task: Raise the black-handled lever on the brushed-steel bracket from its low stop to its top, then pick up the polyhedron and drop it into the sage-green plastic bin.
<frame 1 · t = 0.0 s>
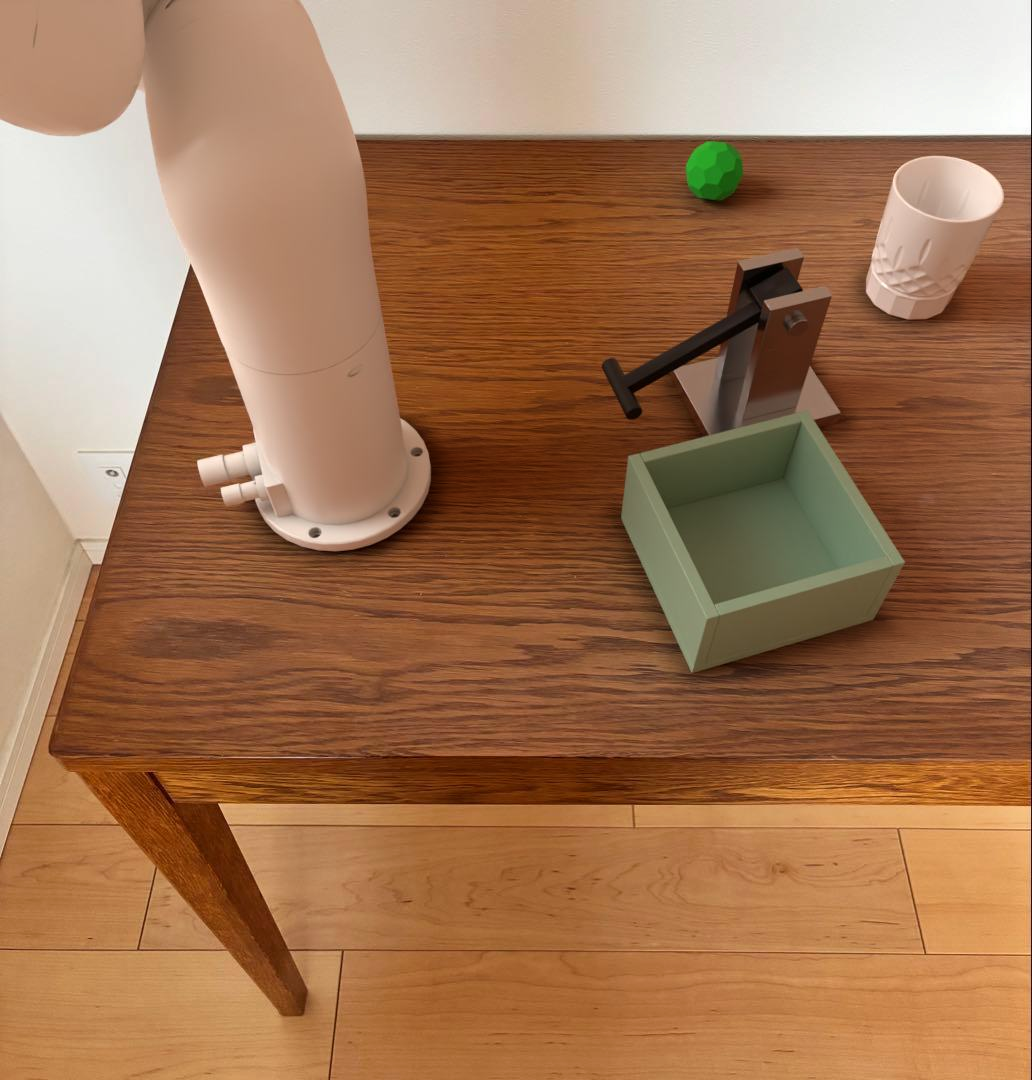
bracket: (752, 400, 74), on the table
lever: (704, 341, 67), point 8 cm above the table, hinge at -25.0°
white cup: (905, 294, 81), on the table
bin: (742, 567, 66), on the table
polyhedron: (710, 196, 89), on the table
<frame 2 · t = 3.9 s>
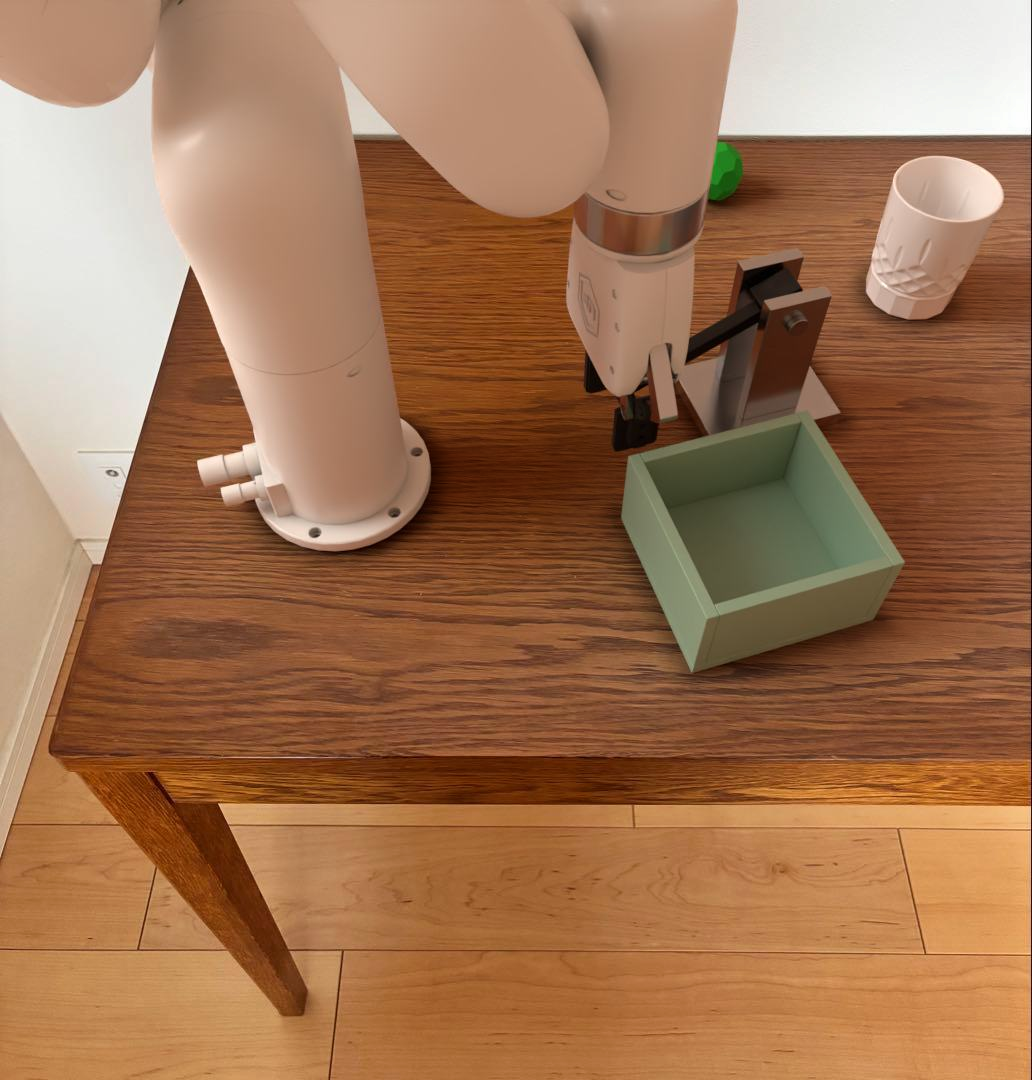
hand: (619, 413, 71), 2 cm above the table, tool pointing down, fingers closed on lever, 5 cm apart
lever: (704, 341, 67), point 8 cm above the table, hinge at -25.0°, touching gripper
everything else where it was.
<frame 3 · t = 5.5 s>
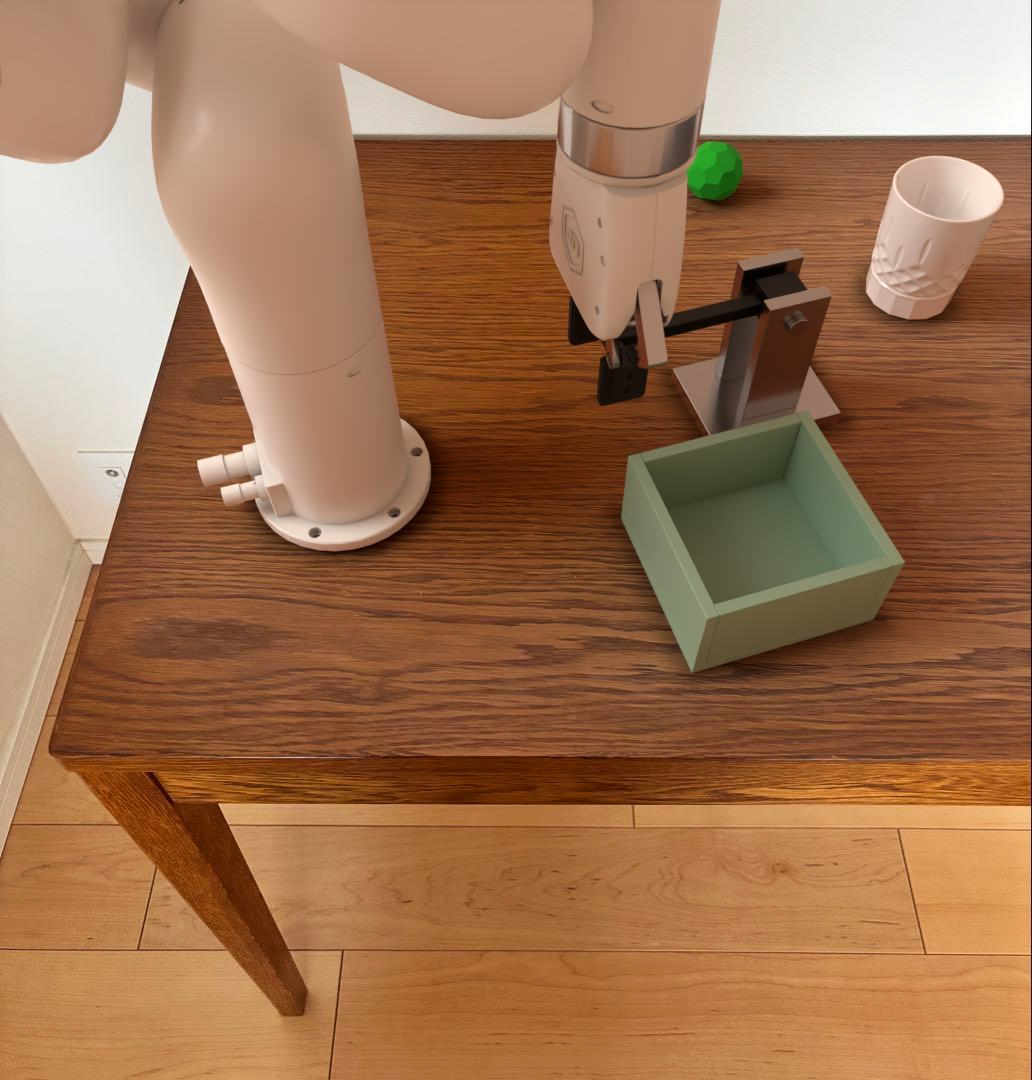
hand: (605, 366, 66), 8 cm above the table, tool pointing down, fingers closed on lever, 5 cm apart
lever: (701, 317, 65), point 10 cm above the table, hinge at -0.6°, touching gripper
everything else where it was.
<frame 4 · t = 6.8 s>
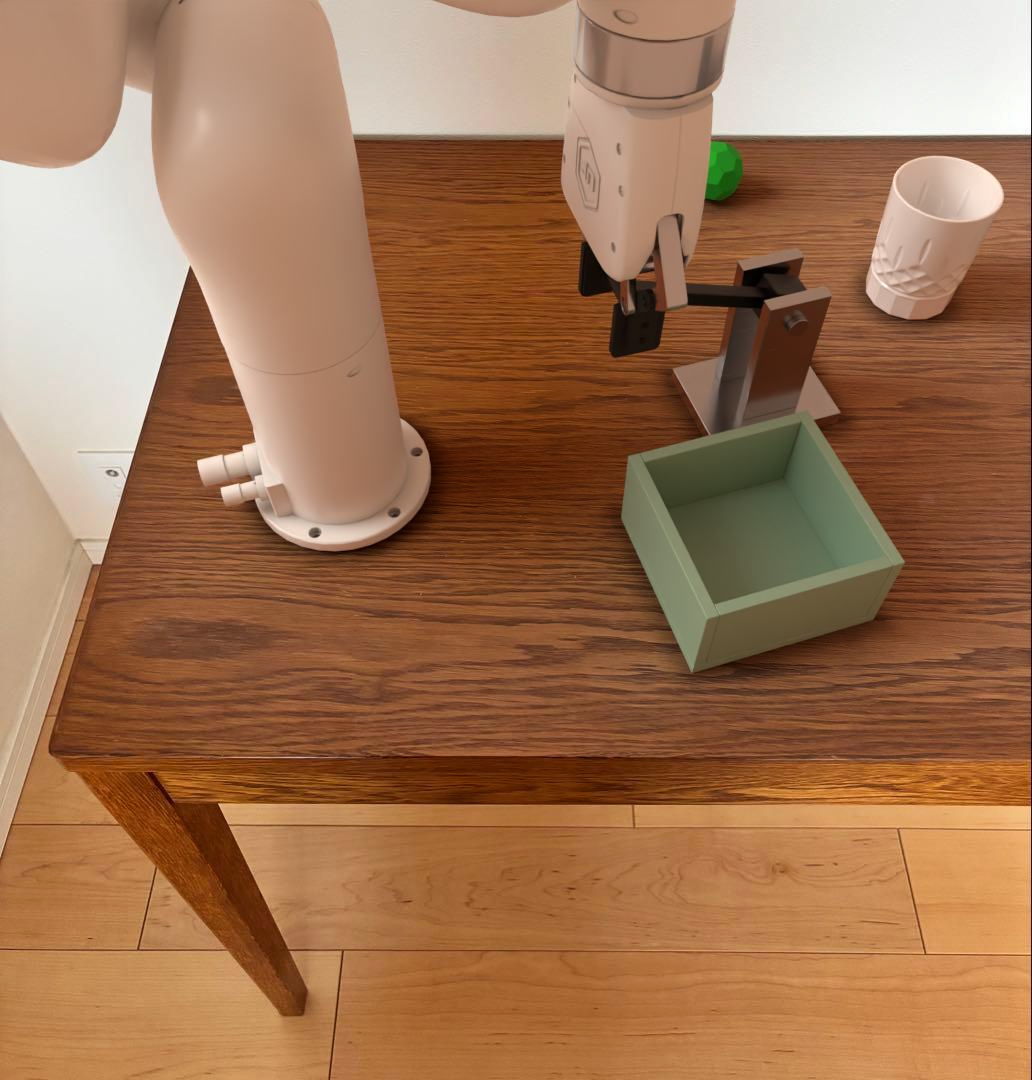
hand: (617, 317, 63), 12 cm above the table, tool pointing down, fingers closed on lever, 5 cm apart
lever: (709, 295, 64), point 12 cm above the table, hinge at 18.5°, touching gripper
everything else where it was.
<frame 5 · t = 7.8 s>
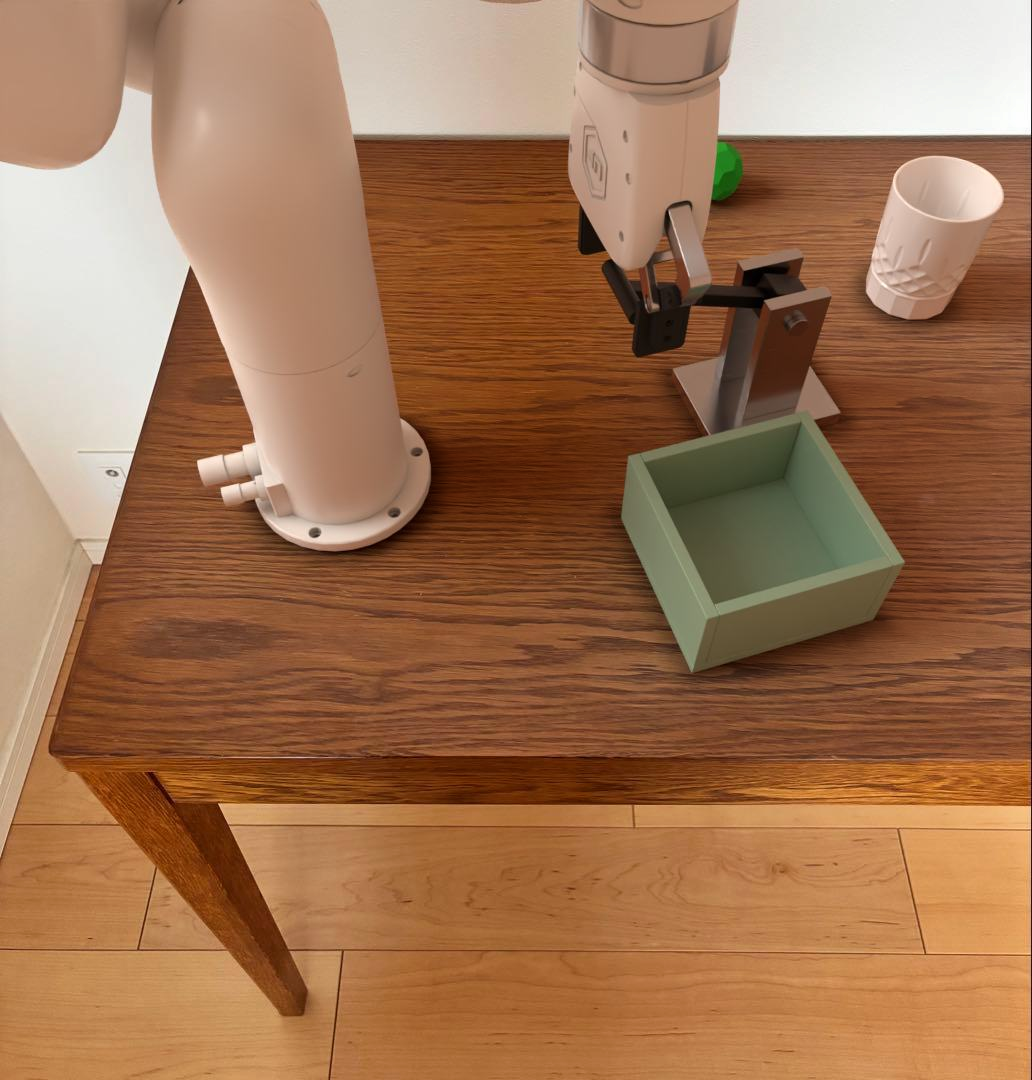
hand: (628, 296, 62), 13 cm above the table, tool pointing down, fingers open, 9 cm apart
lever: (709, 295, 64), point 12 cm above the table, hinge at 18.4°
everything else where it was.
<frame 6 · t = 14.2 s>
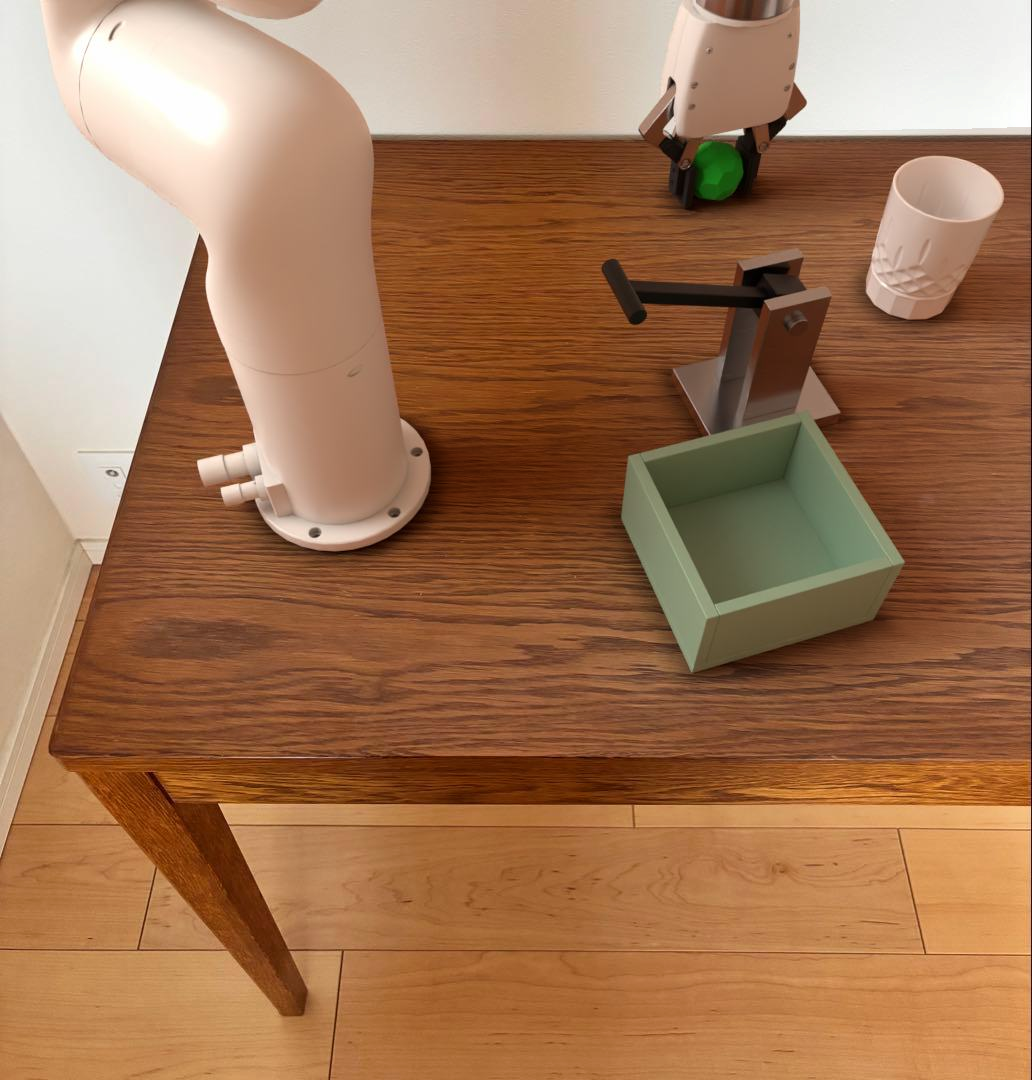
hand: (710, 190, 88), 0 cm above the table, tool pointing down, fingers closed on polyhedron, 5 cm apart
polyhedron: (710, 196, 89), on the table, touching gripper
everything else where it was.
when the fingers open (4 cm above the table, at t = 22.9 s): polyhedron drops 3 cm, resting on bin.
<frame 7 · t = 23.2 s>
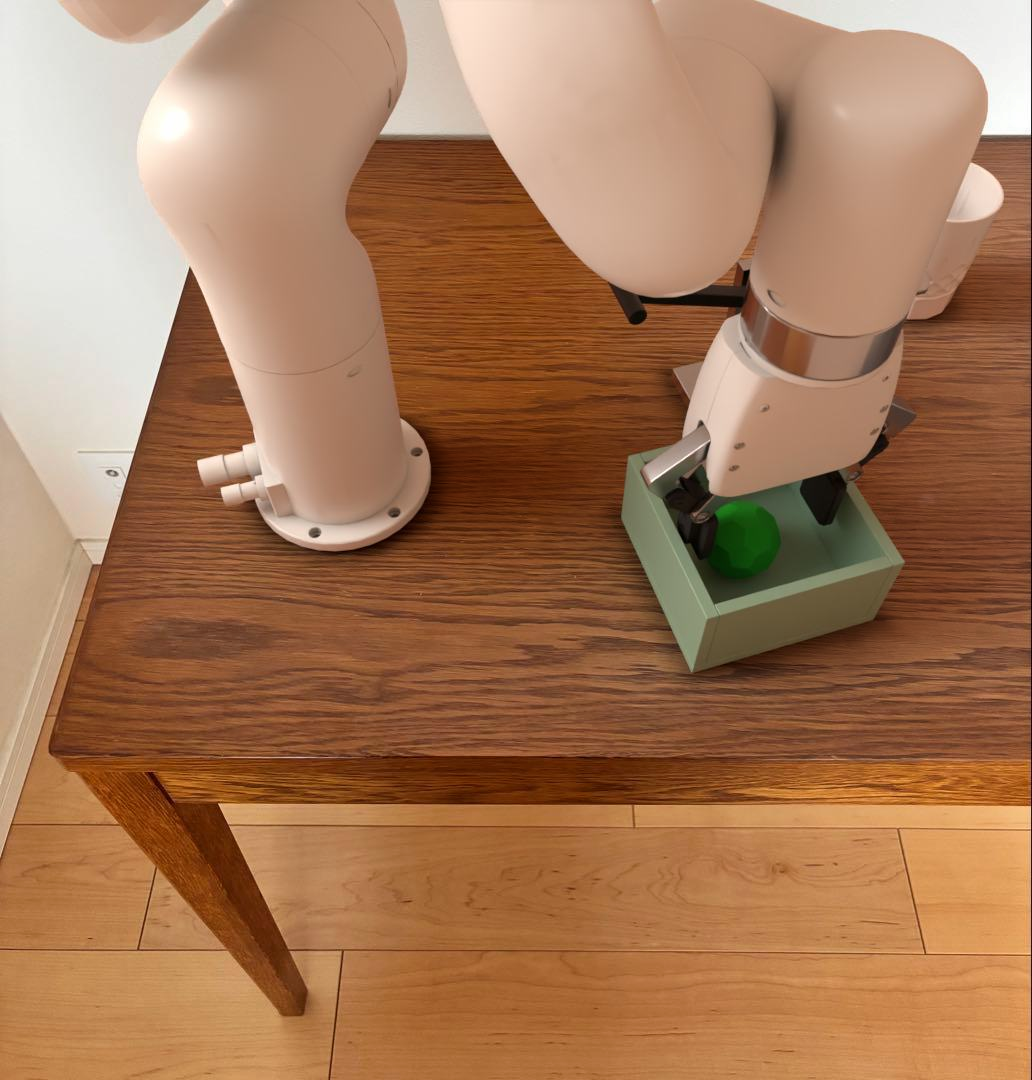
hand: (755, 523, 62), 5 cm above the table, tool pointing down, fingers open, 7 cm apart
polyhedron: (734, 562, 65), point 1 cm above the table, touching bin
everything else where it was.
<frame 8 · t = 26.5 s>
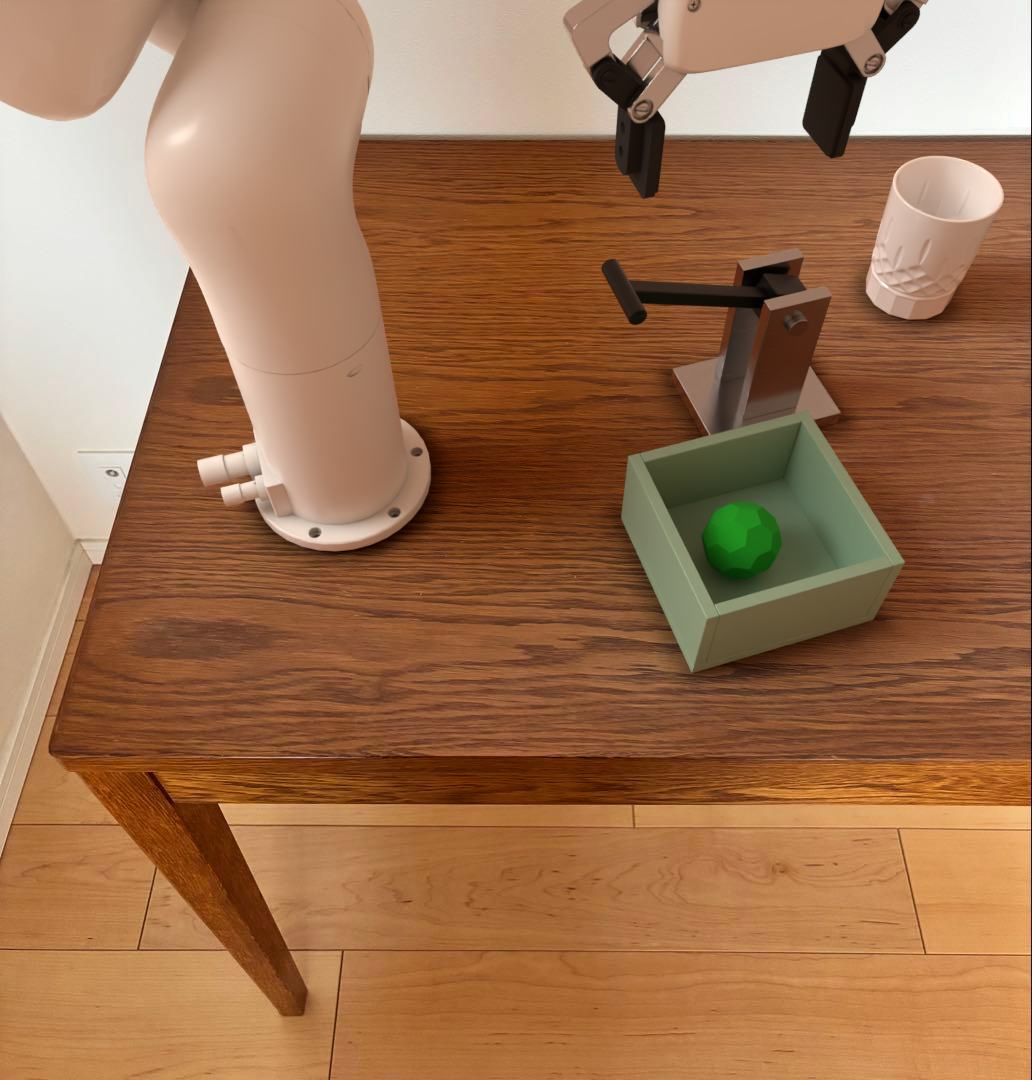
hand: (731, 161, 48), 26 cm above the table, tool pointing down, fingers open, 9 cm apart
nothing on the table moved.
at the end: lever at +18° (first picture: -25°); polyhedron inside the target area in the bin (0.6 cm from its centre), point 0.6 cm above the bin's base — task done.
